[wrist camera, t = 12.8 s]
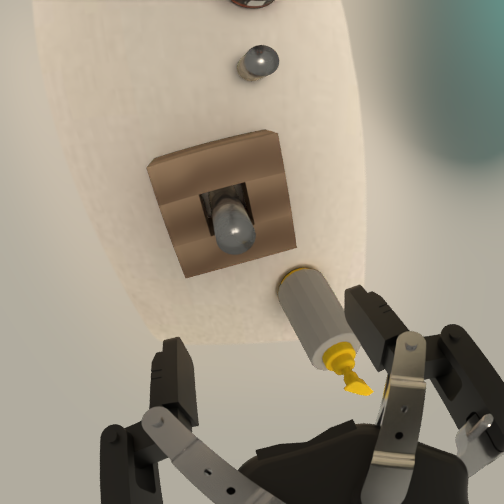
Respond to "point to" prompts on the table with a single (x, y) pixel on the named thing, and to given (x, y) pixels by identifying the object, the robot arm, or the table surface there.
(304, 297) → the soap bottle
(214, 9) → the table surface
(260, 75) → the short pin
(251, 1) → the supplement bottle
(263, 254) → the guide block
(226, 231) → the tall pin
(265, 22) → the table surface
